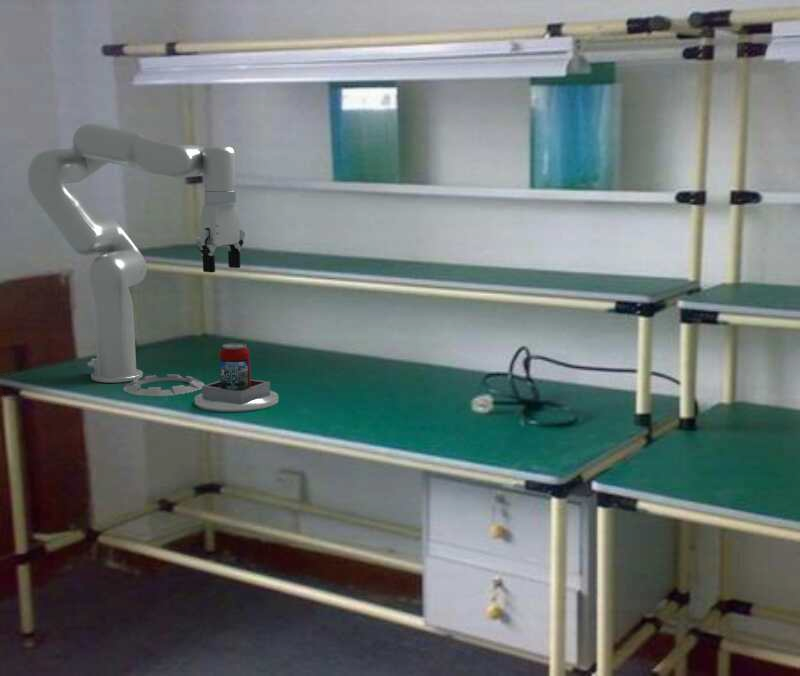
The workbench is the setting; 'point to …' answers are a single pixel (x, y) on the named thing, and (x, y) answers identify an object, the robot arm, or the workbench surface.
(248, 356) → the beverage can
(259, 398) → the rosette plate
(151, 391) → the ring
